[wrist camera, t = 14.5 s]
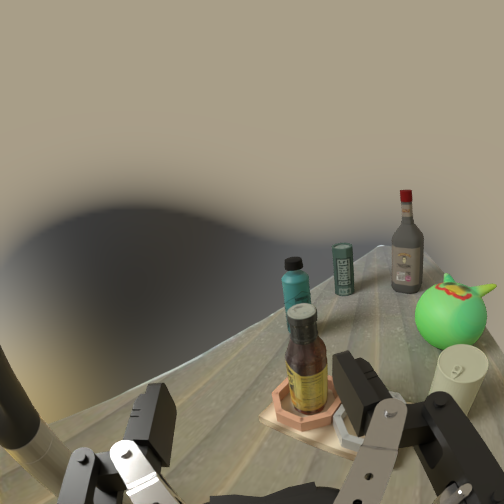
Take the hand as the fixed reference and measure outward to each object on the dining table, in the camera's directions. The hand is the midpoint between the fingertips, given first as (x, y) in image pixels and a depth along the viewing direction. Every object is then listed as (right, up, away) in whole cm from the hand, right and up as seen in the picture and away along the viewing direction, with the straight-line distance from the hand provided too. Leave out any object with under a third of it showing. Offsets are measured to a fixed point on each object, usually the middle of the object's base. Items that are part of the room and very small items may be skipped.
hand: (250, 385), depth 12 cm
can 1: (+29, -6, +72) cm, 78 cm away
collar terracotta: (+10, -20, +30) cm, 38 cm away
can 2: (+33, -21, +21) cm, 45 cm away
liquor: (+49, -5, +65) cm, 81 cm away
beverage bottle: (+12, -14, +55) cm, 59 cm away
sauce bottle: (+10, -20, +30) cm, 38 cm away
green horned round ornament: (+45, -14, +37) cm, 60 cm away
